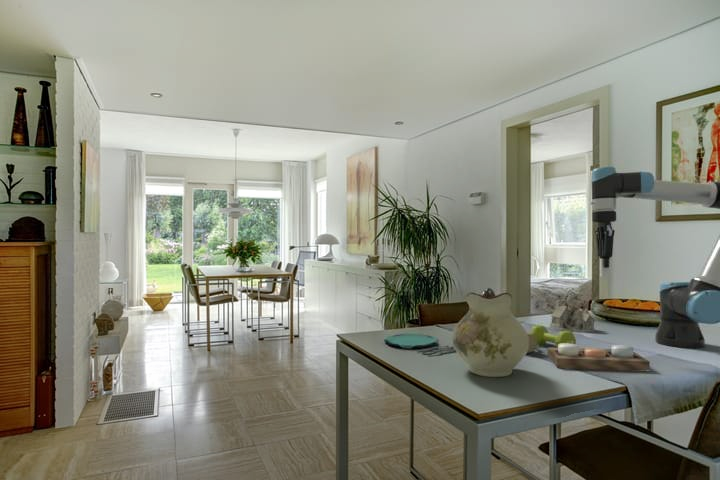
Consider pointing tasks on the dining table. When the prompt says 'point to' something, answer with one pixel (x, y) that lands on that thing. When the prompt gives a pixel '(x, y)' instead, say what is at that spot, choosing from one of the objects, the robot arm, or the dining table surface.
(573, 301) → the ceramic cottage
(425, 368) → the dining table surface
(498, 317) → the pitcher
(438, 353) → the cutlery set
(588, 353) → the terracotta button
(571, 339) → the dumbbell
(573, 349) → the cream button
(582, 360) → the wooden compartment tray
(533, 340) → the ceramic mug
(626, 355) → the grey button
